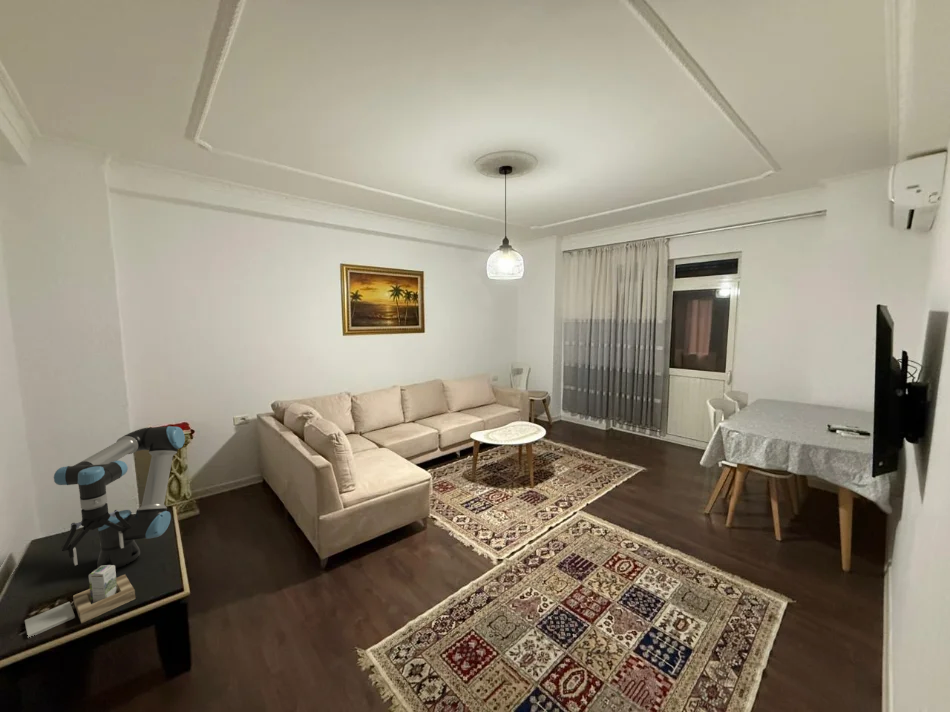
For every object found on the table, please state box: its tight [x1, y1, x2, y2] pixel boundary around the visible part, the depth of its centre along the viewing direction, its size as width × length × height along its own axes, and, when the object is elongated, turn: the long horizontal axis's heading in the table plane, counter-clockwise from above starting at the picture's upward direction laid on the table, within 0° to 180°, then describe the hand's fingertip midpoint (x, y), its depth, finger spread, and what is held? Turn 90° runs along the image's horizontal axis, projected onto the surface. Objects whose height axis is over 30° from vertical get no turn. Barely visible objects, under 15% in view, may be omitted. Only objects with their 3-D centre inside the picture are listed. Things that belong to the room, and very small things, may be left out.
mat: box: [24, 601, 76, 639], centre depth 148 cm, size 12×12×1 cm
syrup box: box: [88, 565, 118, 604], centre depth 156 cm, size 6×6×14 cm
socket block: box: [72, 574, 136, 624], centre depth 157 cm, size 16×16×4 cm
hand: (99, 555), depth 155 cm, fingers open, 13 cm apart
